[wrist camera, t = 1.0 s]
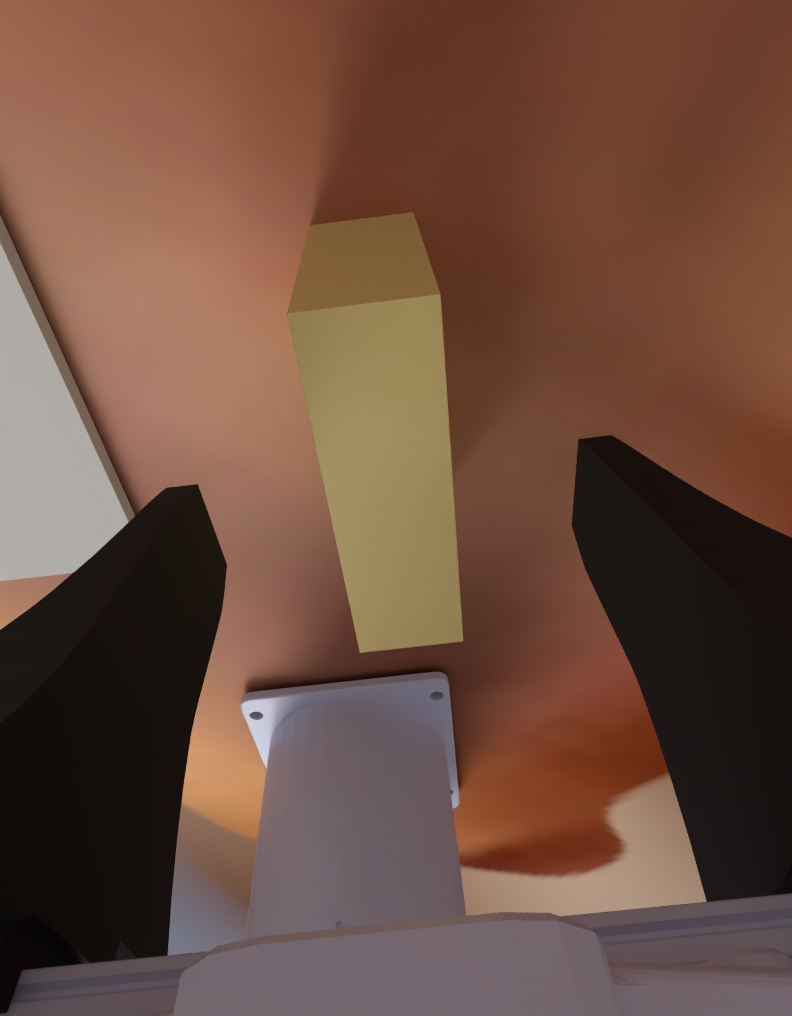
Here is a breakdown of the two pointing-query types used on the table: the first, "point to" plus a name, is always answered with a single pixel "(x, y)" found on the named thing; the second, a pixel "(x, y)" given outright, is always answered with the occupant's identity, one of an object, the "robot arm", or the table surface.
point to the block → (381, 424)
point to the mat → (46, 445)
